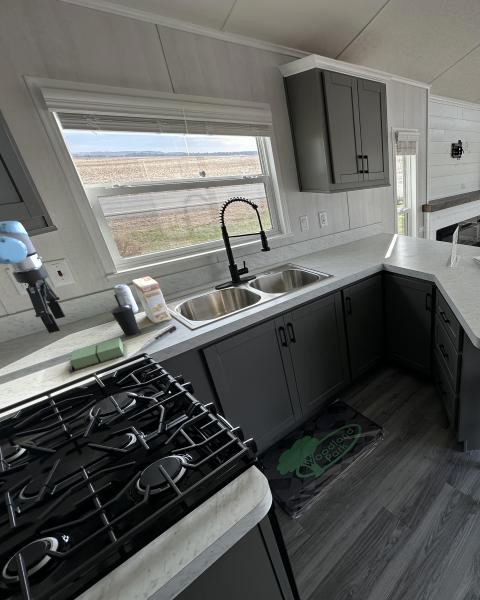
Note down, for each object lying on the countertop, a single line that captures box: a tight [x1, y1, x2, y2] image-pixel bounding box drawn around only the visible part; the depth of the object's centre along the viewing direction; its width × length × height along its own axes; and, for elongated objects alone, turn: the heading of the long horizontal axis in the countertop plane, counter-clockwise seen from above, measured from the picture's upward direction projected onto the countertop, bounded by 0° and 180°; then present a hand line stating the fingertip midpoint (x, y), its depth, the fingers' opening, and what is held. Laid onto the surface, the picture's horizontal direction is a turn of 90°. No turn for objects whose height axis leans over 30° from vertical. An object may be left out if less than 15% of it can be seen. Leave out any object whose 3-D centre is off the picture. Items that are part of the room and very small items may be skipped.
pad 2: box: [97, 337, 124, 362], centre depth 131 cm, size 7×9×4 cm
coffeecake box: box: [131, 275, 172, 324], centre depth 157 cm, size 15×7×20 cm, turn 49°
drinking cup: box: [109, 294, 140, 337], centre depth 142 cm, size 8×8×20 cm
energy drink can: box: [113, 283, 139, 314], centre depth 164 cm, size 6×6×15 cm
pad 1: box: [70, 343, 100, 369], centre depth 127 cm, size 7×9×4 cm
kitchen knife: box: [141, 325, 177, 349], centre depth 142 cm, size 18×1×2 cm, turn 169°
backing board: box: [68, 343, 125, 374], centre depth 129 cm, size 16×12×2 cm
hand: (57, 324), depth 118 cm, fingers open, 13 cm apart
